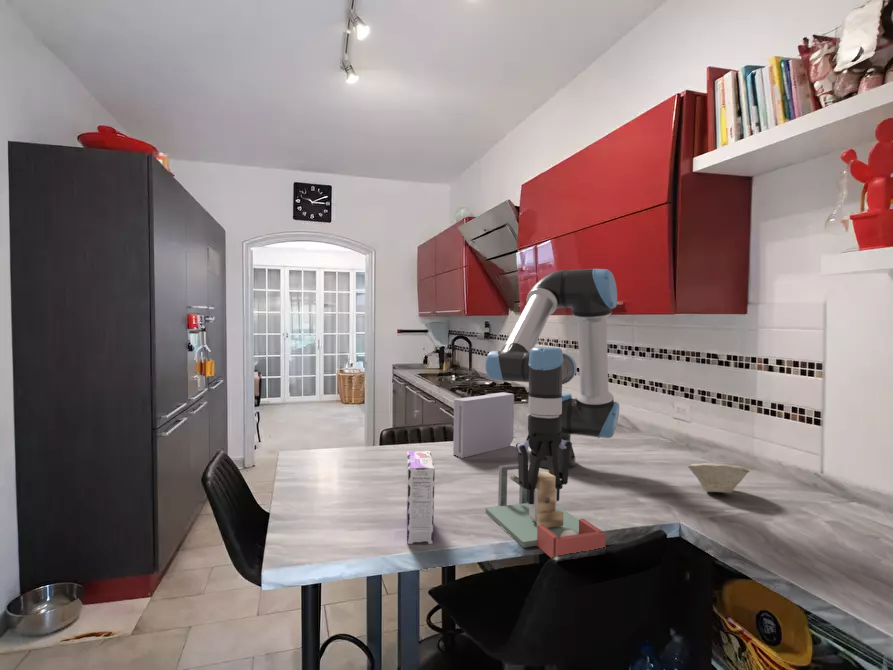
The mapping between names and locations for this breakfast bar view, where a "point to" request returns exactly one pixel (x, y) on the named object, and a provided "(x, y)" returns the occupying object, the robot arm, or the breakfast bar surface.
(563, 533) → the ball
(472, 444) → the game console
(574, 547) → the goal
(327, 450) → the breakfast bar surface
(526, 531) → the pitch board
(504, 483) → the metal rectangular frame
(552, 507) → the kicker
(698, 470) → the bowl
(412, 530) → the candy box
